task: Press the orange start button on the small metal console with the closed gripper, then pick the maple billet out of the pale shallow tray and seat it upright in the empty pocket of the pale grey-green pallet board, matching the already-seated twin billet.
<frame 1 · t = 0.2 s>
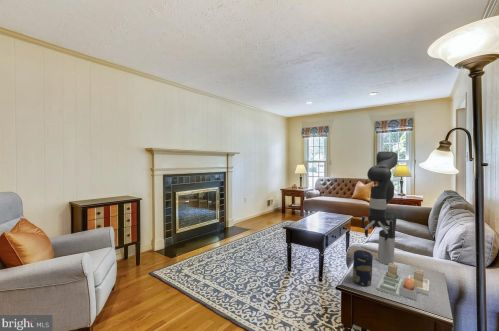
hand: (376, 238, 125), 29 cm above the table, fingers open, 8 cm apart
pale shallow tray: (417, 286, 133), on the table
board: (390, 285, 134), on the table
console: (408, 294, 126), on the table
billet: (417, 285, 133), resting on pale shallow tray
canister: (361, 282, 136), on the table
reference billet: (392, 279, 138), point 1 cm above the table, touching board
start button: (408, 285, 125), point 5 cm above the table, slide at 0.0 cm
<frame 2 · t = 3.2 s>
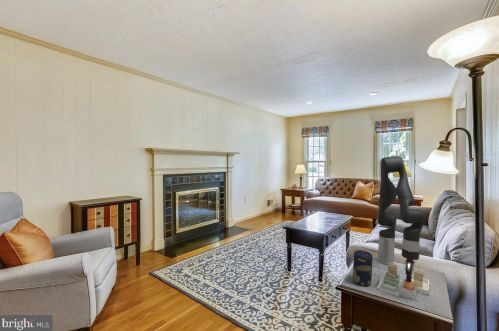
hand: (408, 281, 125), 7 cm above the table, fingers closed
start button: (408, 287, 125), point 4 cm above the table, slide at 0.6 cm, touching gripper
everything else where it was.
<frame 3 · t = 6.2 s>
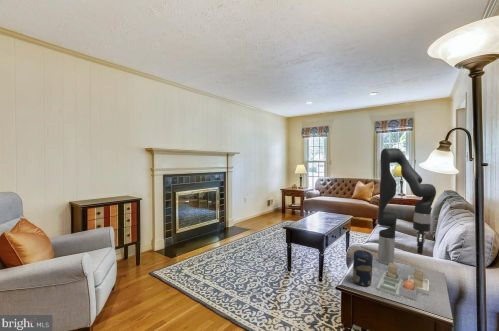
hand: (419, 252, 132), 19 cm above the table, fingers closed
start button: (408, 288, 125), point 3 cm above the table, slide at 1.2 cm
everything else where it was.
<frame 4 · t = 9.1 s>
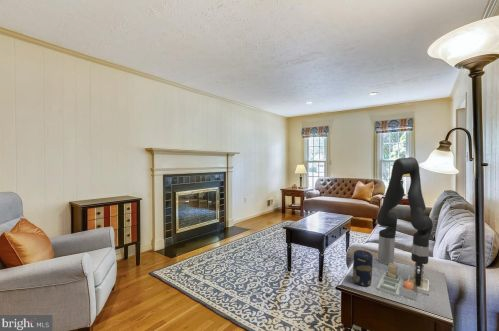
hand: (418, 283, 133), 2 cm above the table, fingers closed on billet, 4 cm apart
billet: (417, 285, 133), resting on pale shallow tray, touching gripper
everything else where it was.
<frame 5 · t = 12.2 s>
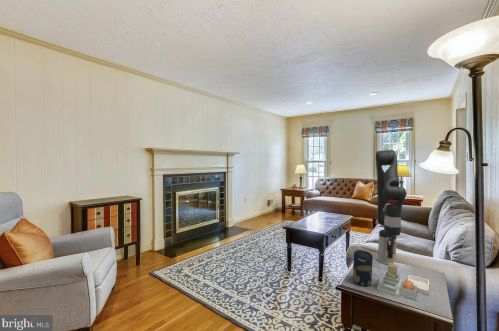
hand: (390, 256, 128), 18 cm above the table, fingers closed on billet, 4 cm apart
billet: (390, 258, 129), point 17 cm above the table, touching gripper
everything else where it was.
when the fingers open (3 cm above the table, at t = 15.1 s): billet stays where it is, resting on board.
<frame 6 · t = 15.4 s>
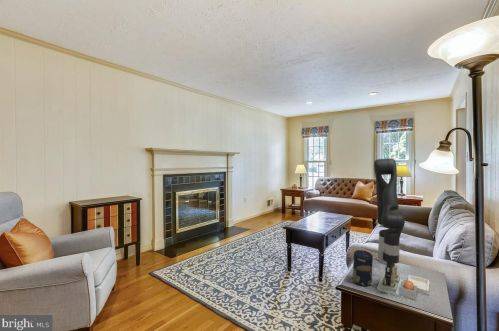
hand: (389, 282, 129), 4 cm above the table, fingers open, 7 cm apart
billet: (389, 287, 130), point 1 cm above the table, touching board
everything else where it was.
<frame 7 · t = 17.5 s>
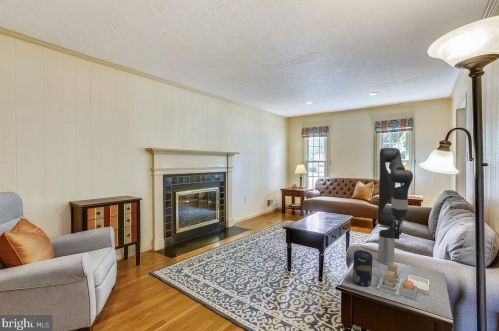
hand: (397, 236, 132), 27 cm above the table, fingers open, 8 cm apart
nothing on the table moved.
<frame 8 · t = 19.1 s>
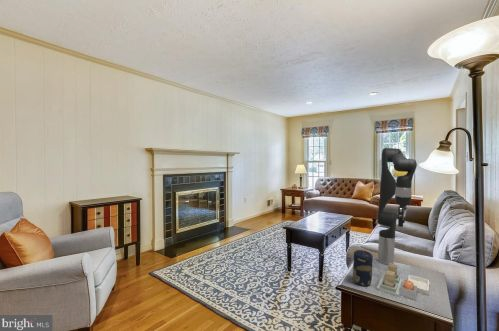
hand: (401, 224, 134), 33 cm above the table, fingers open, 8 cm apart
nothing on the table moved.
at the end: billet 0.2 cm from the target spot on the board, point 1.2 cm above the board's base; billet tilted 0°; the gripper is holding nothing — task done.
